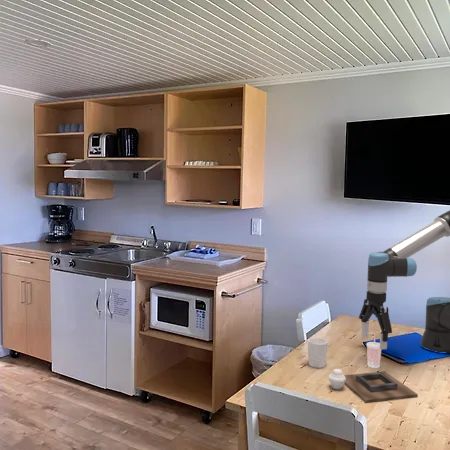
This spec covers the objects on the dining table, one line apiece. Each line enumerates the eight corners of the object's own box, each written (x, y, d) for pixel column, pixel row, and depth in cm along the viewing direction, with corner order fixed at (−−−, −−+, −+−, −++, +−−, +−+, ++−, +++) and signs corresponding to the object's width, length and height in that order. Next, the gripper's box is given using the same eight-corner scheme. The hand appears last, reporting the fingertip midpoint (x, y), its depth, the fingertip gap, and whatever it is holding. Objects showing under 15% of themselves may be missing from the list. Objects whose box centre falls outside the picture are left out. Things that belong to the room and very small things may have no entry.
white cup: (328, 362, 192) (328, 339, 191) (325, 369, 184) (326, 345, 183) (308, 360, 194) (309, 336, 193) (305, 367, 187) (306, 342, 186)
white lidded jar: (342, 392, 164) (343, 373, 164) (325, 388, 167) (326, 369, 167) (347, 386, 169) (348, 367, 169) (331, 382, 173) (332, 364, 172)
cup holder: (384, 373, 181) (385, 366, 181) (417, 396, 161) (417, 388, 161) (337, 378, 176) (338, 370, 176) (365, 402, 157) (366, 394, 156)
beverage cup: (373, 369, 184) (374, 335, 183) (362, 364, 190) (363, 331, 189) (384, 367, 187) (386, 333, 186) (373, 361, 193) (374, 329, 191)
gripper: (352, 284, 197) (349, 333, 199) (386, 299, 173) (382, 354, 175) (368, 284, 199) (365, 332, 201) (403, 298, 175) (400, 353, 176)
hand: (373, 343), depth 188 cm, fingers open, 13 cm apart
